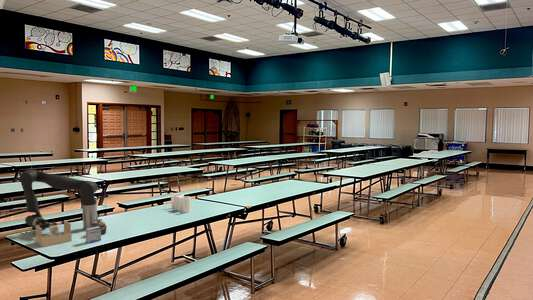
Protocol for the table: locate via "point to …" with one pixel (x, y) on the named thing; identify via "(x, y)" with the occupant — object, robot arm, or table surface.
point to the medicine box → (93, 234)
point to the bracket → (181, 203)
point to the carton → (48, 240)
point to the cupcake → (100, 225)
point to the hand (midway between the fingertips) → (47, 228)
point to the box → (54, 231)
